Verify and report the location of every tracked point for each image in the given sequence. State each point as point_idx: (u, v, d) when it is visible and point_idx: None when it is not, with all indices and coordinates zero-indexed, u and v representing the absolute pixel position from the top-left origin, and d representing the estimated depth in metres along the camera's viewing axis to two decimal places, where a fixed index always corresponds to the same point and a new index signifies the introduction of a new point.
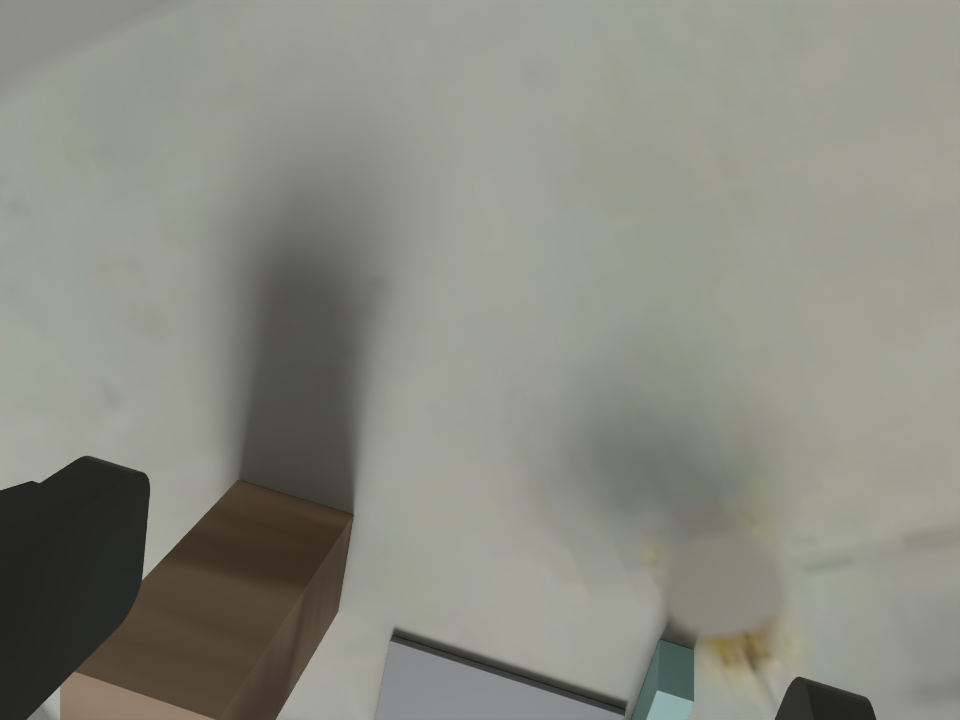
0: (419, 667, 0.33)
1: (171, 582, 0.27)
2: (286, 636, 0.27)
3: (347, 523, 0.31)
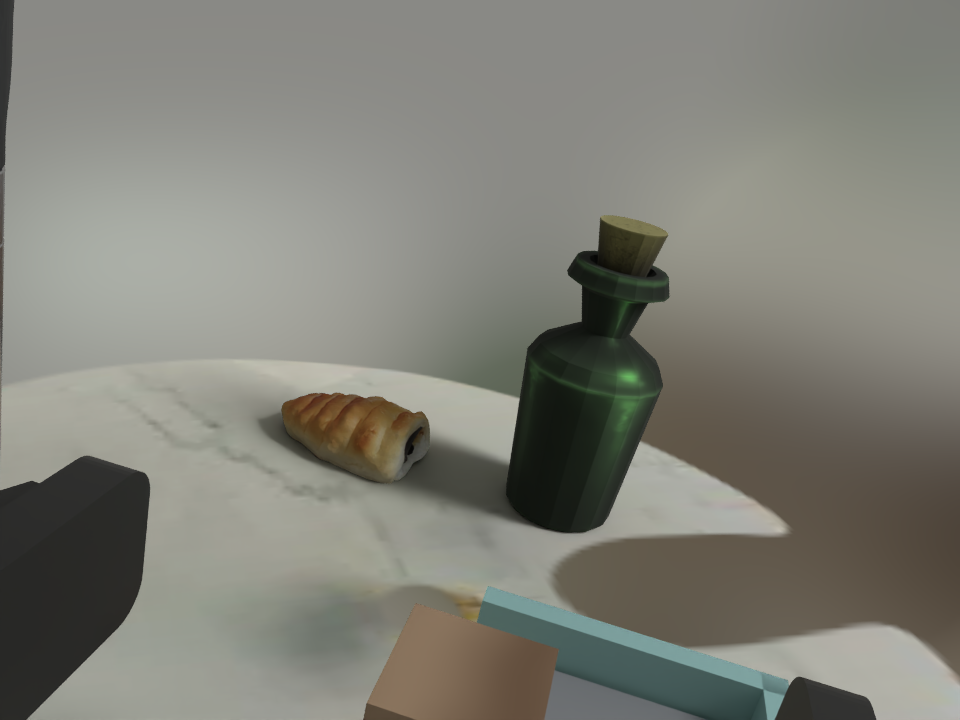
0: None
1: None
2: None
3: None
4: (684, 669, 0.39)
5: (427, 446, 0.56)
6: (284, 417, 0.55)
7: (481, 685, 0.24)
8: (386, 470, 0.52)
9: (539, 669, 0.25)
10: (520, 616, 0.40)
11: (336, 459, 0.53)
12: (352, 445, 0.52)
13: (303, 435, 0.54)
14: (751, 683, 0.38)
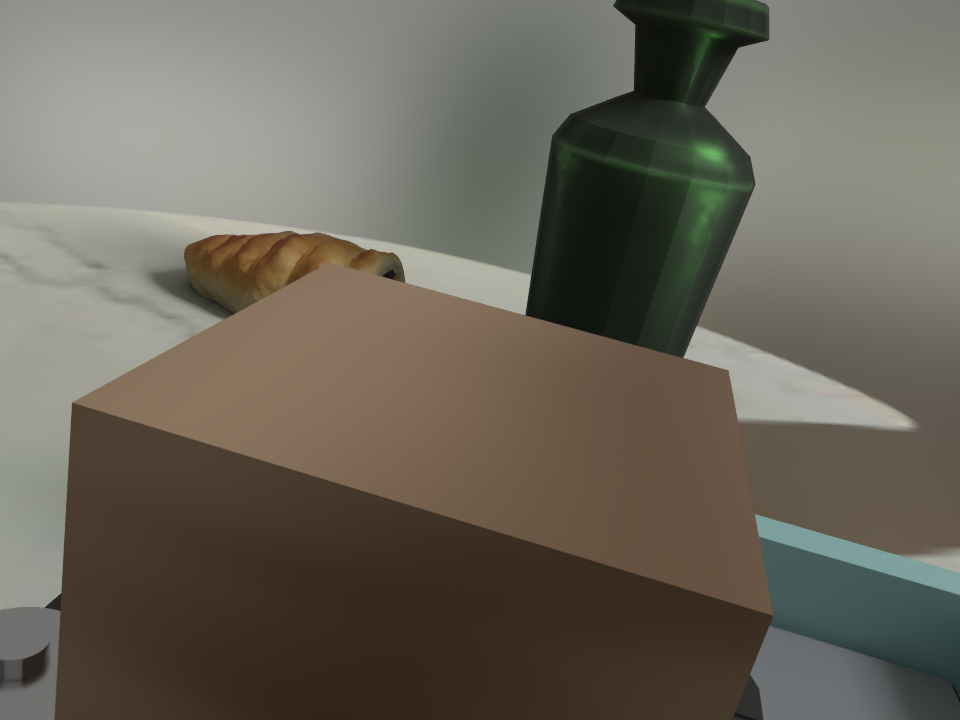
0: None
1: None
2: None
3: None
4: (849, 572, 0.22)
5: None
6: (187, 262, 0.37)
7: (518, 406, 0.07)
8: None
9: (691, 397, 0.08)
10: None
11: None
12: None
13: (216, 283, 0.36)
14: None
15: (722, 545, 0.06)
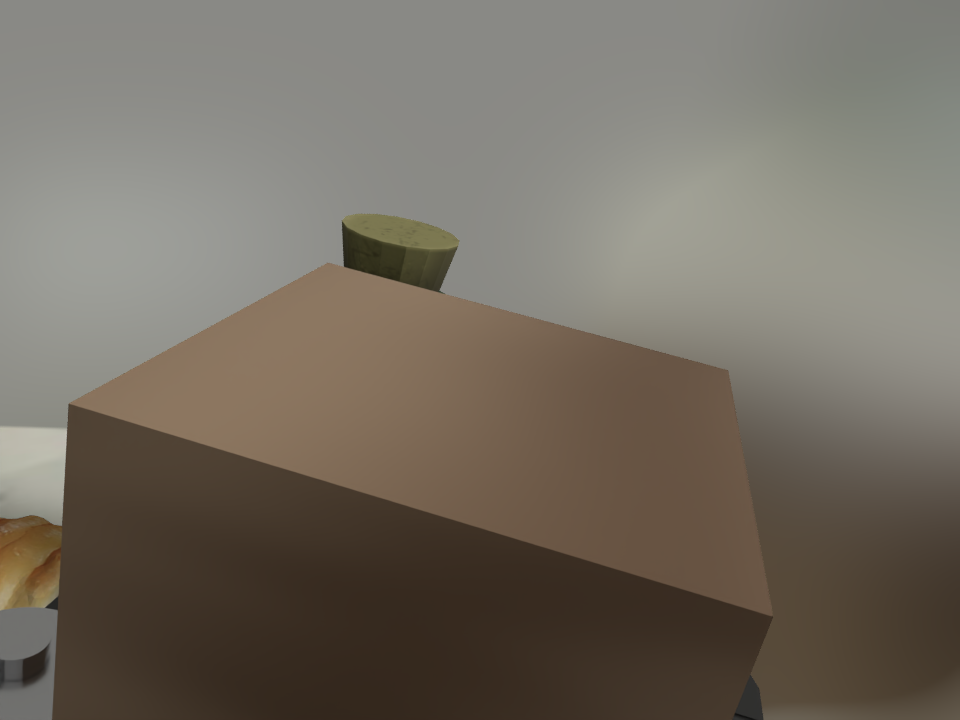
0: None
1: None
2: None
3: None
4: None
5: None
6: None
7: (517, 408, 0.07)
8: None
9: (690, 397, 0.08)
10: None
11: None
12: None
13: None
14: None
15: (720, 547, 0.06)
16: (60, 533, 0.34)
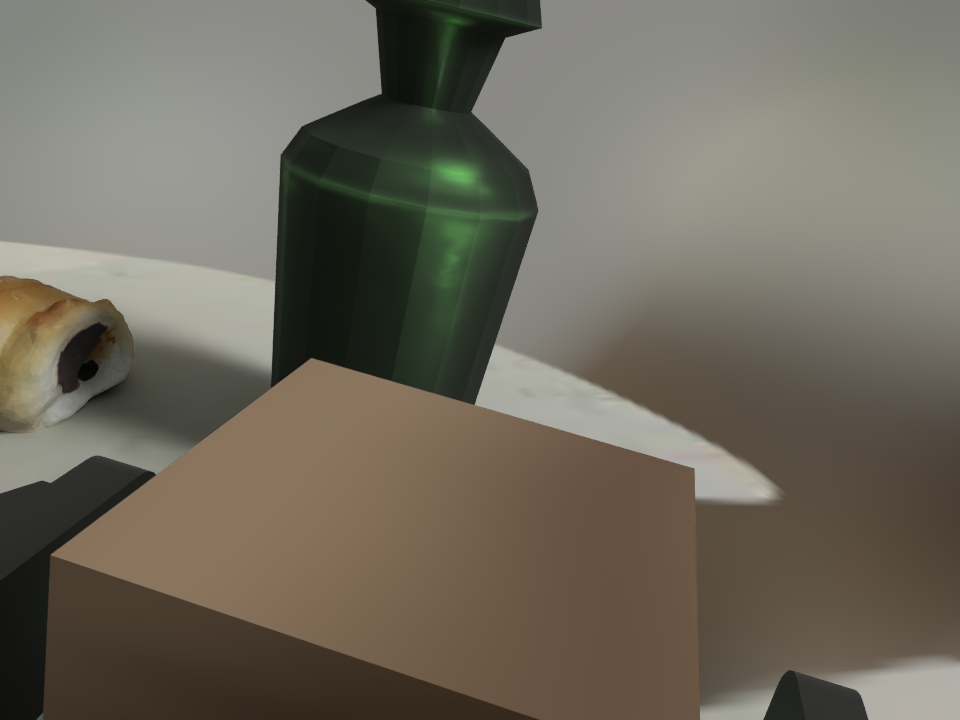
0: None
1: None
2: None
3: None
4: None
5: (126, 365, 0.31)
6: None
7: (480, 530, 0.07)
8: (11, 403, 0.26)
9: (652, 505, 0.09)
10: None
11: None
12: None
13: None
14: None
15: (659, 691, 0.06)
16: (63, 291, 0.30)
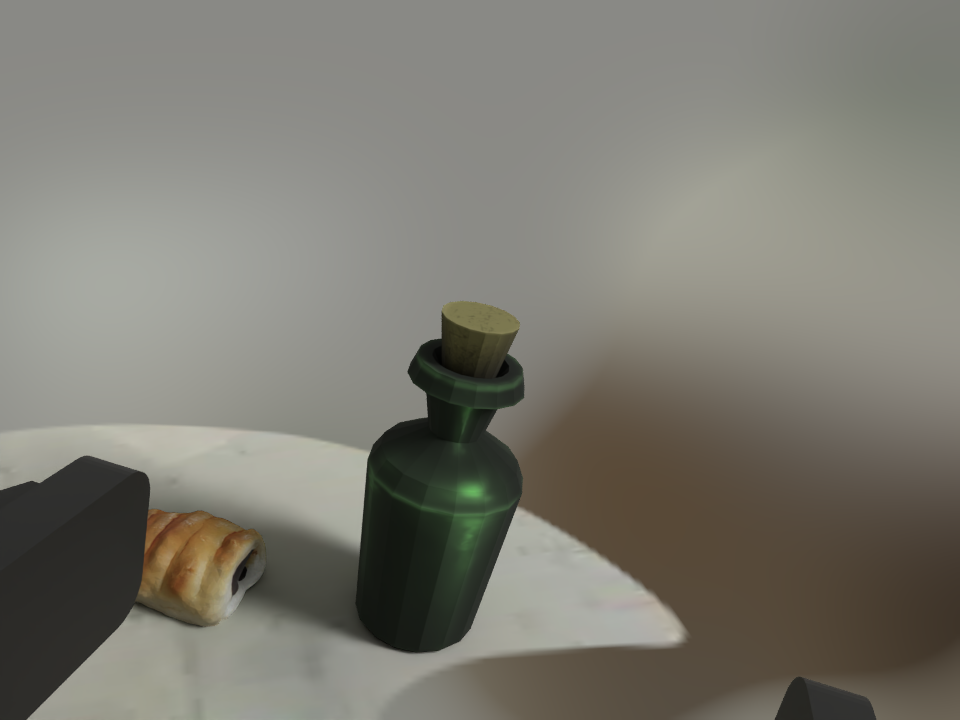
0: None
1: None
2: None
3: None
4: None
5: (263, 565, 0.48)
6: None
7: None
8: (209, 614, 0.44)
9: None
10: None
11: (149, 602, 0.45)
12: (166, 586, 0.44)
13: None
14: None
15: None
16: (225, 523, 0.48)
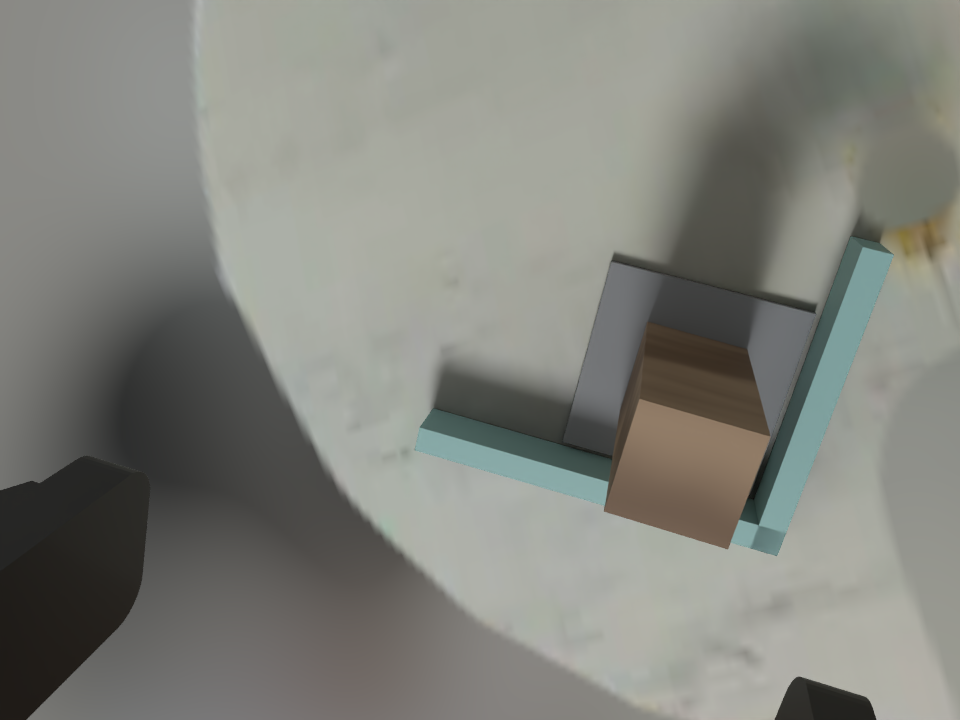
0: (635, 286, 0.39)
1: (663, 367, 0.34)
2: None
3: (747, 352, 0.38)
4: (783, 455, 0.38)
5: None
6: None
7: (672, 482, 0.31)
8: None
9: (699, 529, 0.31)
10: (845, 289, 0.35)
11: None
12: None
13: None
14: (766, 516, 0.39)
15: (623, 510, 0.31)
16: None
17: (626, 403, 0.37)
